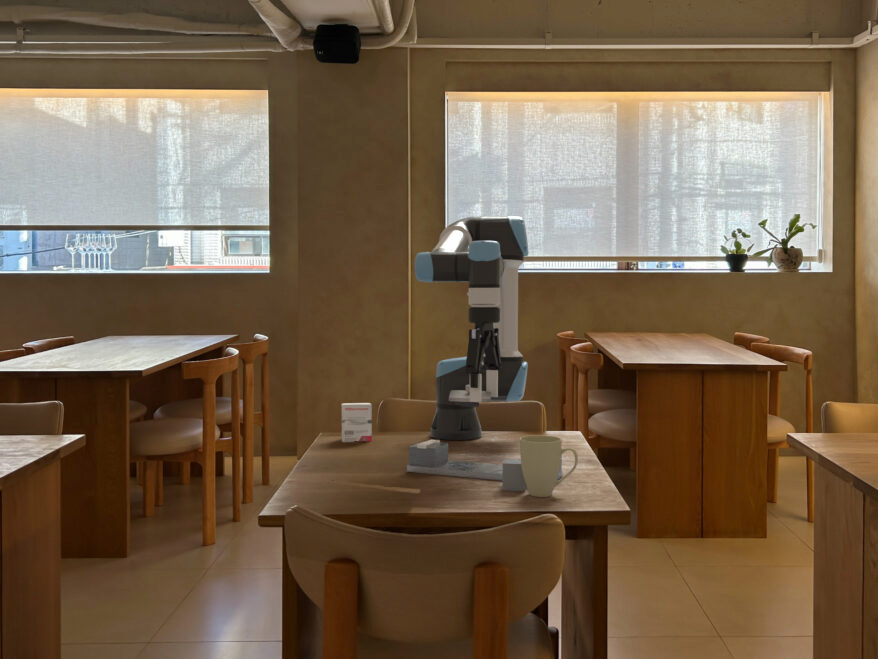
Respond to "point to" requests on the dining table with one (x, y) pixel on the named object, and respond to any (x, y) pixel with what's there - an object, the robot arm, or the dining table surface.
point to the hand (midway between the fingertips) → (484, 399)
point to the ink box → (356, 422)
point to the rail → (451, 463)
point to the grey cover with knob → (467, 397)
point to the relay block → (513, 475)
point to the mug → (542, 463)
